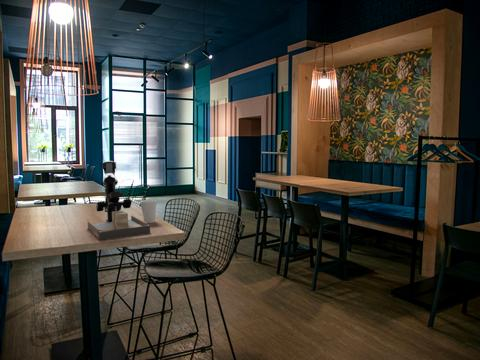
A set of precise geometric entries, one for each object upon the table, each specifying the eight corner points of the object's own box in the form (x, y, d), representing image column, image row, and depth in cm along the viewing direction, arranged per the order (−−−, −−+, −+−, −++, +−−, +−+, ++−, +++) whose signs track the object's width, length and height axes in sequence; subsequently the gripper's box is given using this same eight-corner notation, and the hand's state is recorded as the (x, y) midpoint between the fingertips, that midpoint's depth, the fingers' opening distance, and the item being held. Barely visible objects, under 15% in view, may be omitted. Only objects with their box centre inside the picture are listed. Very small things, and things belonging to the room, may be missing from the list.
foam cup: (140, 221, 244) (139, 200, 242) (155, 219, 247) (154, 199, 246) (142, 224, 235) (141, 202, 233) (158, 222, 238) (157, 201, 237)
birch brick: (112, 227, 217) (111, 211, 216) (123, 226, 220) (122, 210, 219) (117, 231, 208) (116, 214, 208) (128, 229, 212) (127, 213, 211)
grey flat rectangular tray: (88, 228, 226) (87, 220, 226) (133, 222, 240) (132, 215, 239) (100, 240, 198) (99, 231, 198) (150, 232, 211) (149, 224, 211)
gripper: (95, 187, 216) (101, 210, 208) (129, 184, 226) (136, 206, 217) (93, 200, 224) (99, 222, 215) (126, 196, 233) (133, 218, 225)
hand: (117, 216), depth 218 cm, fingers closed, pressing on birch brick
